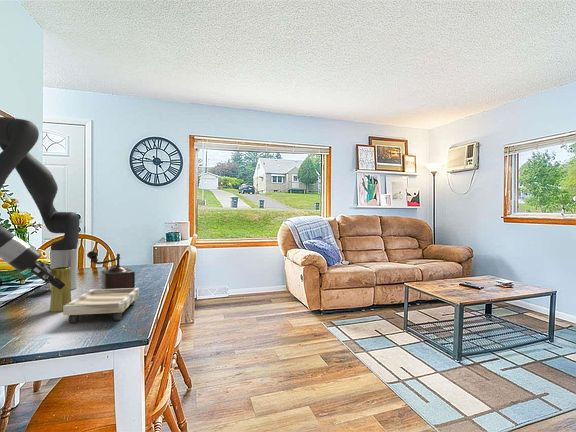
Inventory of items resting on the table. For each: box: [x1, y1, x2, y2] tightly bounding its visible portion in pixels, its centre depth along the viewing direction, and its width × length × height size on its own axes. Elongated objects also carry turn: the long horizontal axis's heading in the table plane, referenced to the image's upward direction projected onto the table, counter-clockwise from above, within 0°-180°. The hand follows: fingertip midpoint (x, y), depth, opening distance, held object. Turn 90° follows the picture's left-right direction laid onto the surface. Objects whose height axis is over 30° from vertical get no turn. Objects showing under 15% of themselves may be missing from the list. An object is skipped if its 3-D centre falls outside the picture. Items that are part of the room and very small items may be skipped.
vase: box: [49, 267, 72, 313], centre depth 104 cm, size 6×6×14 cm
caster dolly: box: [62, 287, 140, 324], centre depth 101 cm, size 20×16×6 cm
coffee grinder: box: [86, 250, 136, 289], centre depth 124 cm, size 16×11×18 cm
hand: (62, 284), depth 104 cm, fingers open, 8 cm apart
